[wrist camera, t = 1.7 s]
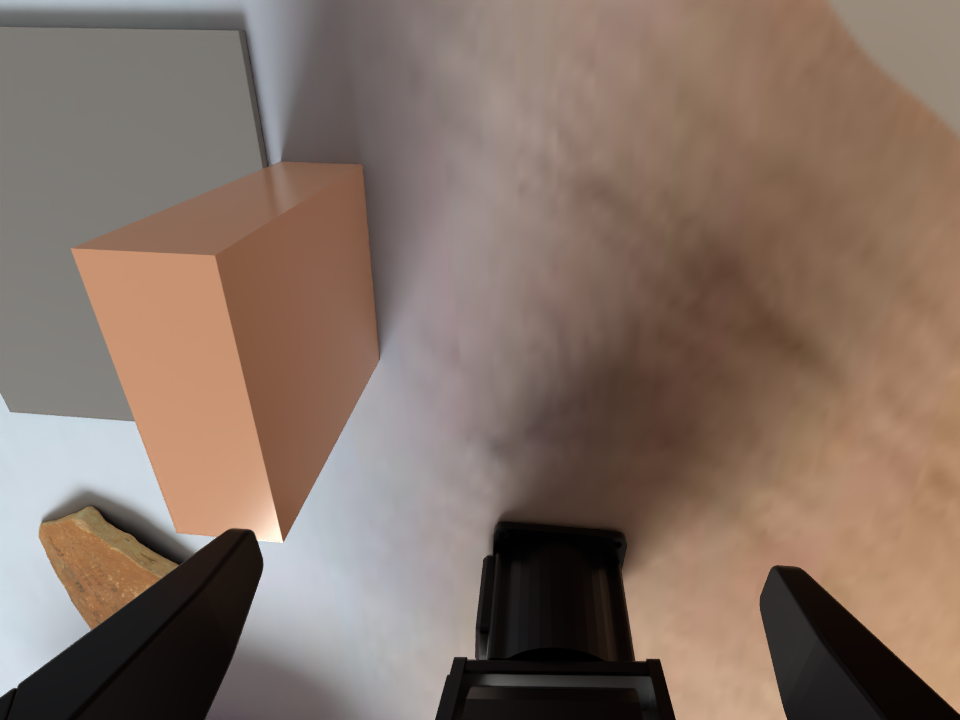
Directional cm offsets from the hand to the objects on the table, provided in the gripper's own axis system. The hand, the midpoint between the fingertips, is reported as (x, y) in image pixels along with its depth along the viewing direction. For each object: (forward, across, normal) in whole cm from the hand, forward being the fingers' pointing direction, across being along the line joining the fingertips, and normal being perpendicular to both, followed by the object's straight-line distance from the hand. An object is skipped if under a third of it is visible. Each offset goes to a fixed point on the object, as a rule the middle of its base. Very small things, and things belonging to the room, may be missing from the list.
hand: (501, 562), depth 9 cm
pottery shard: (+14, +22, +18) cm, 32 cm away
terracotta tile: (+13, +7, 0) cm, 15 cm away
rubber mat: (+13, +17, -1) cm, 21 cm away
